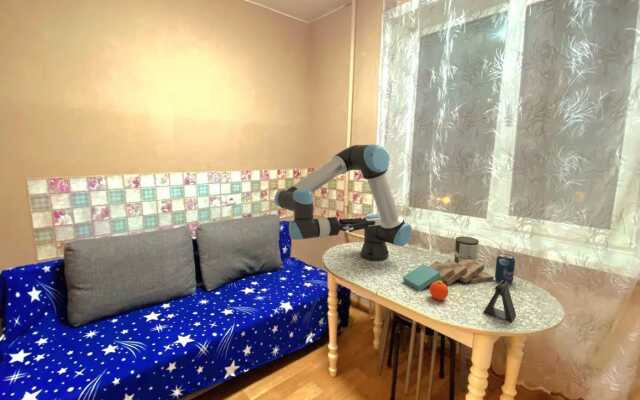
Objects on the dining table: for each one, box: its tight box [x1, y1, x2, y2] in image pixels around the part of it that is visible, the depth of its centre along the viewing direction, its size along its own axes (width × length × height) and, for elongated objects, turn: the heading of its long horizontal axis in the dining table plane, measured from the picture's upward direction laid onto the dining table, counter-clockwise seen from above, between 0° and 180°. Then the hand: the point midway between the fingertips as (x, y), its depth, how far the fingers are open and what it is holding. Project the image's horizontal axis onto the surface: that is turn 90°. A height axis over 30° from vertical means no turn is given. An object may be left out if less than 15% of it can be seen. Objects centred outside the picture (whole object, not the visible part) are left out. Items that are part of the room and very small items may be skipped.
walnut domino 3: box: [457, 258, 485, 284], centre depth 137 cm, size 10×2×12 cm
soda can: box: [494, 253, 516, 285], centre depth 133 cm, size 7×7×12 cm
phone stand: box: [483, 280, 517, 323], centre depth 106 cm, size 9×6×12 cm, turn 46°
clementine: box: [429, 281, 449, 301], centre depth 118 cm, size 8×7×7 cm
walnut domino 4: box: [467, 270, 495, 284], centre depth 138 cm, size 10×2×12 cm
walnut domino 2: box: [442, 259, 468, 287], centre depth 136 cm, size 10×2×12 cm
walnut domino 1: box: [428, 260, 455, 287], centre depth 134 cm, size 10×2×12 cm
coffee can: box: [453, 236, 480, 263], centre depth 149 cm, size 10×10×14 cm
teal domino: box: [402, 263, 441, 292], centre depth 131 cm, size 10×2×12 cm
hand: (380, 221), depth 128 cm, fingers closed
